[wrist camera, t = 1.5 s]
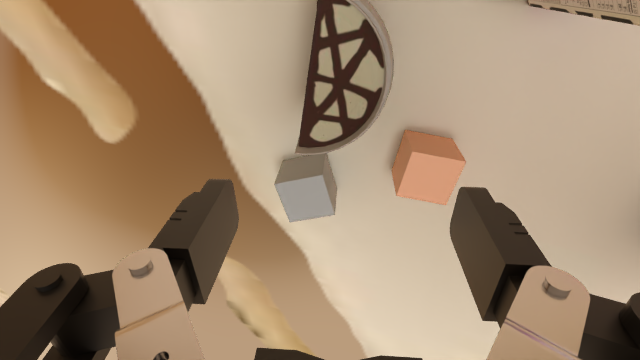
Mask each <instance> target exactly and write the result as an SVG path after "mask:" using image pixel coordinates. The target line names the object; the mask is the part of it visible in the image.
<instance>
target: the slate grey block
mask: <svg viewBox="0 0 640 360" xmlns="http://www.w3.org/2000/svg"><path fill="white" fill-rule="evenodd" d="M274 185H275V187H276V189H277V192H278V194H279V197H280V199H281V202H282V204H283V207H284V209H285V212H286V214H287V217H288V219H289V222H295V221H301V220H307V219H313V218H319V217H325V216H331V215H335V206H336V193H337V188H336V184H335V181H334V178H333V174H332V171H331V167H330V164H329V161H328V157H327V154H326V153H323V154H317V155H308V156H303V157H298V158H293V159H288V160H283V162H282V165H281V168H280V170H279V173H278V176H277V178H276V181H275V184H274Z"/></svg>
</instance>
